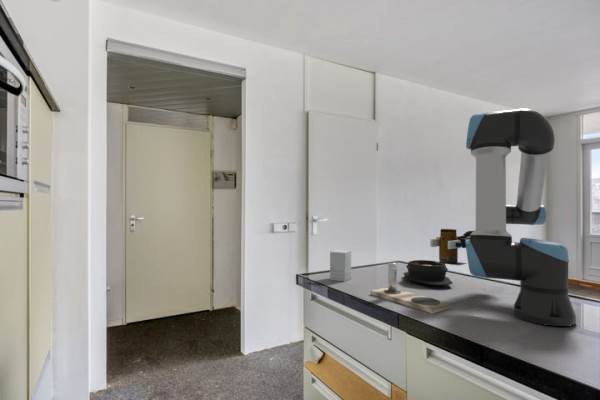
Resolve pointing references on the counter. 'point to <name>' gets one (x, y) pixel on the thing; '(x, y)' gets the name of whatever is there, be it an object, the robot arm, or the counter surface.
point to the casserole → (427, 272)
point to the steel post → (392, 277)
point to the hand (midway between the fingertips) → (439, 244)
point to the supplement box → (340, 265)
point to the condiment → (444, 253)
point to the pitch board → (412, 300)
